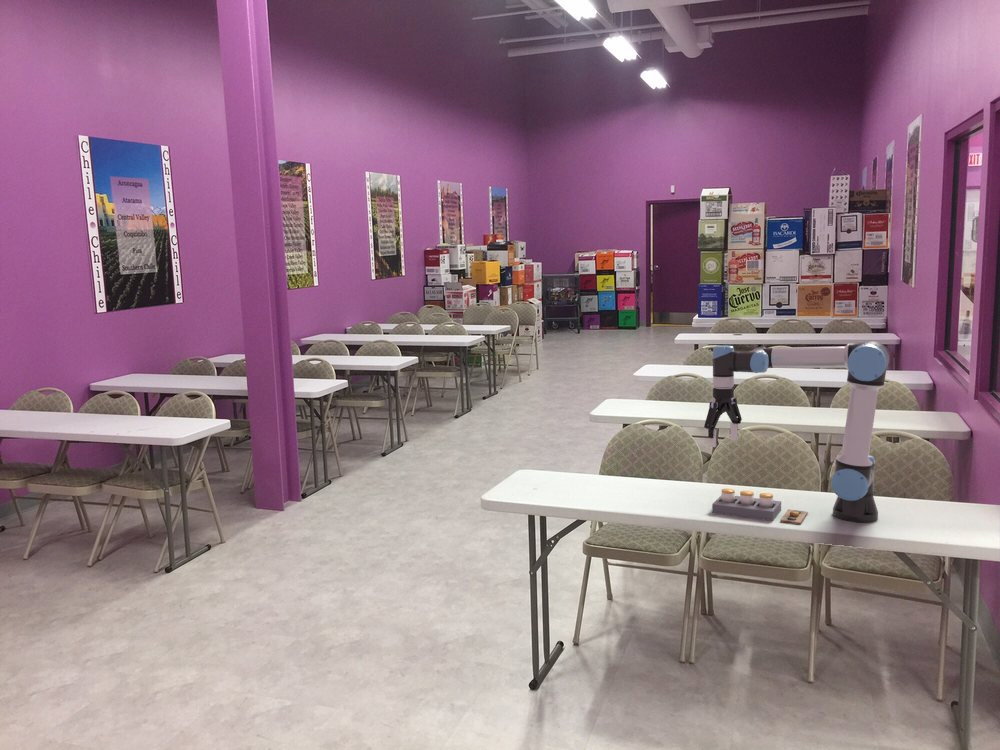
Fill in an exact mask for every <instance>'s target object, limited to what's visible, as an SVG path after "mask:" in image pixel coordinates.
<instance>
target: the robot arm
mask: <svg viewBox="0 0 1000 750" xmlns="http://www.w3.org/2000/svg"><path fill="white" fill-rule="evenodd" d="M712 349H713V350H712V387H713V388H712V397H713V399H715V401H714V402H712V401H710V402H709V408H708V412H707V415H706V417H705V418H706V419H705V422H704V426H703V428H704V429H706V430H707V434H708V447H712V448H716V447H717V429H716V426H717V424H718V422H719V420H720V417H721V416H722V415H723V414H724V413H726V414H727V416H728V418H729V420H730V421H731V422H730V423H729V426H730V433H729V435H730V441H733V442H738V440H739V439H738V438H739V437H738V432H739V424H741V422H742V420H743V418H742V415H741V413H740V409H739V405H738V400H737V399H738V398H737V397H735V395H734V394H735V389H734V386H735V381H734V380H735V373H751V374H752V373H753V374H754V373H755V374H761V373H762V374H764V373H766V372H767V371H768V369H776V368H777V369H778V368H779V369H780V368H781V369H791V368H792V369H795V368H796V369H797V368H798V369H802V368H803V369H804V368H805V369H807V368H809V369H810V368H811V369H813V368H815V369H817V368H819V369H823V368H824V369H825V368H826V369H827V368H828V369H829V368H830V369H831V368H833V369H834V368H839V369H840V368H846V370H847V378H846V382H847V384H849V386H850V390H849V397H848V398H849V399H848V405H847V412H846V420H845V427H844V432H843V433H844V434H843V440H842V441H843V442H842V447H841V448H842V449H841V453H840V454H839V455H838V456H836V458H835V464H834V473H833V474H832V477H831V479H830V480H831V481H830V485H831V486H830V487H831V489H832V490H833V492H834V494H835V495H836V496H837V497H836V499H835V502H834V505H833V507H832V516H834V517H835V518H837V519H839V520H842V521H847V522H853V523H854V522H855V523H871V522H875V521H877V520H878V519H879V511H878V507H877V505H876V502H875V498H874V497H875V496H874V492H875V488H874V487H875V486H874V485H875V466H876V462H875V456H873V455H871V454H870V449H871V443H872V436H873V428H874V422H875V415H876V409H877V401H878V395H879V390H880V389H882V388H883V387H884V386H885V381H886V376H887V375H886V374H887V369H888V366H889V365H890V362H891V354H890V351H889V349H888V348H887V346H886V345H884V344H882V343H881V342H878V341H873V340H872V341H863V342H856V343H855V342H854V343H847V344H846V345H844V346H803V347H801V346H798V347H764V346H760V347H759V346H758V347H757V348H754V349H752V350H749V351H736V350H735V347H734V346H733V345H715V346H714V347H712Z"/></svg>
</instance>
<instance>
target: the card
mask: <svg viewBox="0 0 1000 750" xmlns="http://www.w3.org/2000/svg"><path fill="white" fill-rule="evenodd" d="M808 515H809V511H807V510H806V511H804V510H796V509H790V508H789V509H787V510H786V511H785V513H784V514H783V515H782V517H780V520H779V522H780V523H785V524H792V525H802V524H803V522H804V520H805V519H806V517H807V516H808Z"/></svg>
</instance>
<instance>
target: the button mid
mask: <svg viewBox="0 0 1000 750" xmlns="http://www.w3.org/2000/svg"><path fill="white" fill-rule="evenodd" d="M739 494H740V495H739V496H740V504H742V505H750V506H752V505H754V498H755V497H754V495H755V493H754V491H751V490H741V491H740V492H739Z"/></svg>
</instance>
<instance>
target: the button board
mask: <svg viewBox="0 0 1000 750" xmlns="http://www.w3.org/2000/svg"><path fill="white" fill-rule="evenodd" d="M711 506H712V507H711V509H712V510H711V512H712V514H716V515H724V516H725V515H726V516H732V517H741V518H748V519H754V520H763V521H769V522H774V520H775V519H776V518H777V517H778V515H779V514H780V513H781V511H782V501H781V500H774V499H773V507H772V508H766V507H760V506H759V498H757V497H754V505H752V506H750V505H742V504H740V495H735V502H734V503H727V502H721V495H720V496H719V497H718V498H717V499H716V500H715V501H714V502H713V503H712V505H711Z"/></svg>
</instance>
